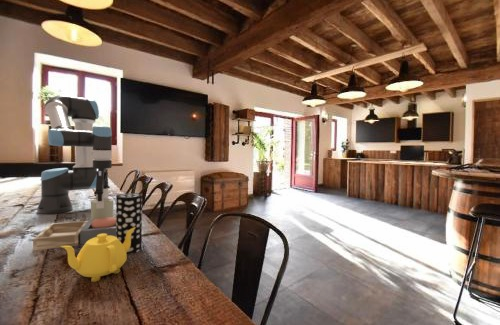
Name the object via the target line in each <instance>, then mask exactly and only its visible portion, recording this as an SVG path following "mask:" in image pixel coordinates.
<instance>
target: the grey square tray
mask: <svg viewBox="0 0 500 325" xmlns="http://www.w3.org/2000/svg"><path fill="white" fill-rule="evenodd" d="M86 221H87V223H86V224H85V225H84V227H83V228H82V230H81V231H80V243H79V245H84V244H85V243H86V242H87V241H88V240H90V239H92V238H95V237H97V235H99V234H103V233H105V234H107V235H111V236H115V237H116V226H115V227H104V228H93V229H92V221H93V220H91V219H90V220H86Z"/></svg>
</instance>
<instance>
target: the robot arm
mask: <svg viewBox="0 0 500 325" xmlns="http://www.w3.org/2000/svg"><path fill="white" fill-rule="evenodd" d="M44 112H45V113H46V115H47V116H48V118H49V122H50V127H51V128H50V129H48V130H47V143H48V145H49V146H55V147H75V164H74V165H73V166H72V170H71V169H69V168H68V167H60V168H59V167H58V168H52V169H50V168H49V169H46V170H43V171H41V175H40V176H41V177H40V181H41V184H40V187H41V190H40V191H41V194H40V201H39V203H38V205H37V209H36V210H37V211H36V213H37V214H41V215H49V214H50V215H51V214H61V213H65V212H69V211H71V210H73V202H72V201H71V198H70V195H69V192H70V191H83V190H93V189H95V191H94V193H93V195H95V196H96V198H95V200H96V209H98V208H104V199H105V198H107V199H109V189H110V188H111V187H110V185H109V177H108V174H109V172H108V169H111V168H112V167H113V166H112V165H113V162H112V158H113V153H112V152H113V150H112V147H113V145H112V142H113V141H112V140H113V137H112V136H113V133H112V128H111V127H109V126H104V125H93V124H95V123H96V120H99V116H100V115H99V114H100V111H99V106H98V103H97V101H96V100H94V99H90V98H87V97H86V98H85V97H81V96H80V97H78V96H71V95H66V94H65V95H64V94H63V95H60V94H59V95H56V96H53V97H51V98H49V99H48V100H47V101H46V102H45V104H44ZM69 117H70V118H71V121H72V122H73V123H74V129H73V127H72V124H71V122H70V119H69Z"/></svg>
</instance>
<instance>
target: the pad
mask: <svg viewBox="0 0 500 325" xmlns="http://www.w3.org/2000/svg"><path fill="white" fill-rule="evenodd" d="M115 226H116V216H115V217H114V216H113V217H103V218H98V219H95V220H93V221H92V229H93V228H104V227H115Z"/></svg>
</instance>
